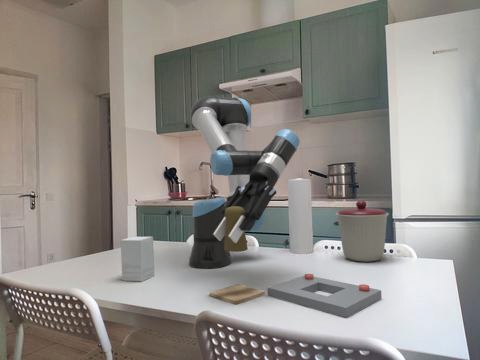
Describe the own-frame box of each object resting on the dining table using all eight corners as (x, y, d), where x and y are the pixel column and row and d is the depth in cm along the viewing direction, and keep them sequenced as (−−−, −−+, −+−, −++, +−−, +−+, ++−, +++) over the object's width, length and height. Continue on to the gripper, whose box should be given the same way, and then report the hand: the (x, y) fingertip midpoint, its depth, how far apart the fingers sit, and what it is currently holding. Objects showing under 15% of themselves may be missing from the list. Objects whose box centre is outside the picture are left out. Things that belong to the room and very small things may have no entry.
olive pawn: (223, 247, 92) (222, 206, 92) (246, 246, 93) (245, 205, 93) (224, 252, 86) (223, 207, 86) (248, 251, 87) (247, 206, 87)
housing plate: (267, 295, 88) (267, 283, 88) (305, 281, 99) (305, 271, 99) (346, 317, 72) (345, 303, 72) (381, 298, 83) (381, 286, 83)
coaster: (209, 295, 90) (209, 292, 90) (238, 287, 96) (238, 284, 96) (235, 304, 82) (235, 301, 82) (264, 294, 89) (264, 291, 89)
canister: (346, 252, 139) (344, 199, 139) (395, 256, 128) (393, 199, 128) (329, 261, 124) (327, 202, 124) (383, 267, 113) (381, 202, 114)
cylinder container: (313, 253, 138) (310, 177, 138) (289, 253, 140) (286, 178, 140) (313, 249, 147) (310, 178, 148) (290, 249, 149) (288, 178, 150)
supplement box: (155, 275, 112) (154, 236, 112) (141, 282, 105) (140, 240, 105) (135, 274, 114) (134, 235, 114) (121, 280, 107) (119, 239, 107)
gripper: (237, 164, 103) (194, 226, 92) (285, 160, 90) (241, 231, 79) (251, 182, 107) (210, 243, 95) (299, 180, 94) (258, 251, 82)
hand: (224, 238), depth 87 cm, fingers closed on olive pawn, 5 cm apart
